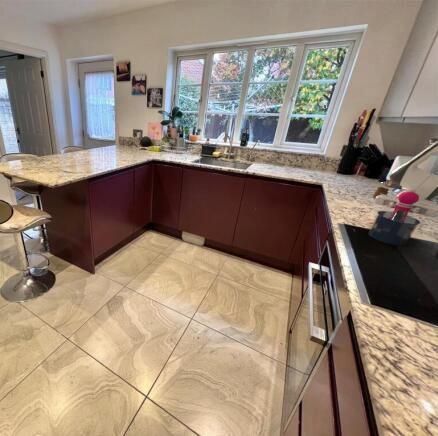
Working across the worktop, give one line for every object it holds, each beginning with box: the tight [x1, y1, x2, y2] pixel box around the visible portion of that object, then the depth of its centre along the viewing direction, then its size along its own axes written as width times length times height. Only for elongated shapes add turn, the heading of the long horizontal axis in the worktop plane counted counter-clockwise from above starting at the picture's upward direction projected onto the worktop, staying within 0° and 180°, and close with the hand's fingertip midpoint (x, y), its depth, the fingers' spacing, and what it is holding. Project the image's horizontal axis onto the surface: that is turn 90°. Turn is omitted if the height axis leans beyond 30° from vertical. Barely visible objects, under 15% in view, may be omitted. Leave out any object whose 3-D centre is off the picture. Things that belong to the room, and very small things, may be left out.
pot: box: [368, 214, 418, 247], centre depth 96 cm, size 12×12×10 cm
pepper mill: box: [392, 188, 419, 216], centre depth 101 cm, size 7×7×20 cm
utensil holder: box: [372, 179, 393, 200], centre depth 145 cm, size 6×6×12 cm
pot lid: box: [376, 209, 421, 226], centre depth 93 cm, size 13×13×4 cm
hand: (402, 208), depth 100 cm, fingers closed on pepper mill, 5 cm apart
